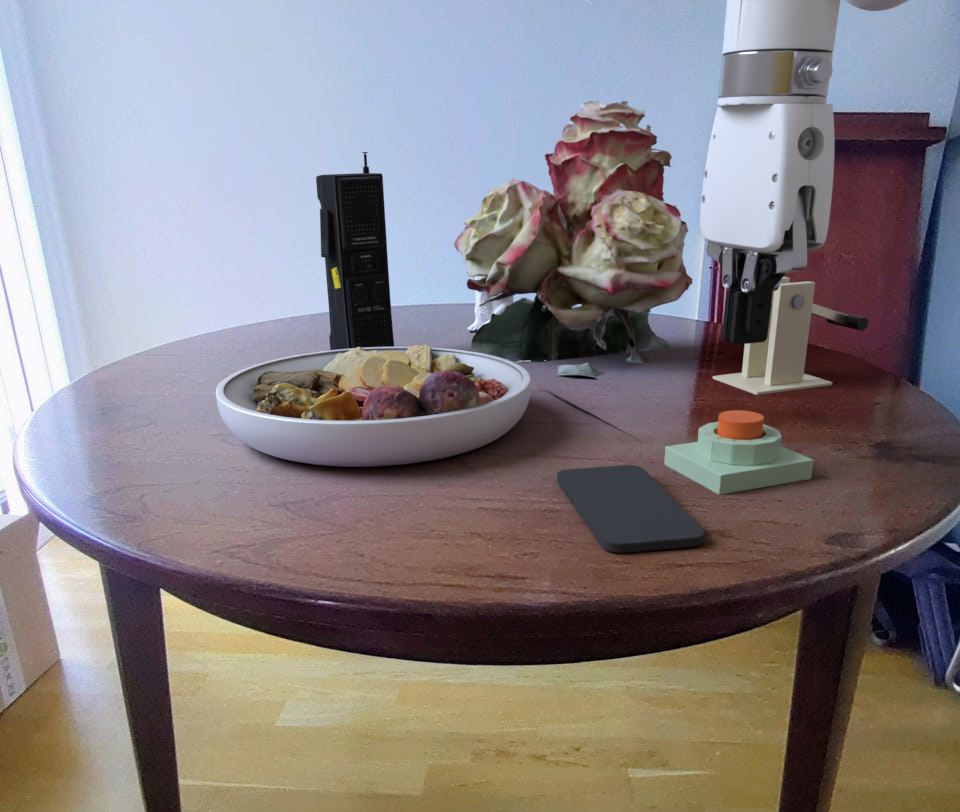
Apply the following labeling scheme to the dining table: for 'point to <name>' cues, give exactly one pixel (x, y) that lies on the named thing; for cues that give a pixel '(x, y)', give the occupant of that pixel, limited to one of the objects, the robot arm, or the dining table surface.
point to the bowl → (374, 404)
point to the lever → (838, 317)
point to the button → (740, 425)
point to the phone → (628, 509)
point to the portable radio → (355, 259)
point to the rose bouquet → (580, 247)
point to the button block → (737, 461)
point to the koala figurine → (487, 307)
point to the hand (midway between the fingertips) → (743, 340)
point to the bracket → (780, 346)
